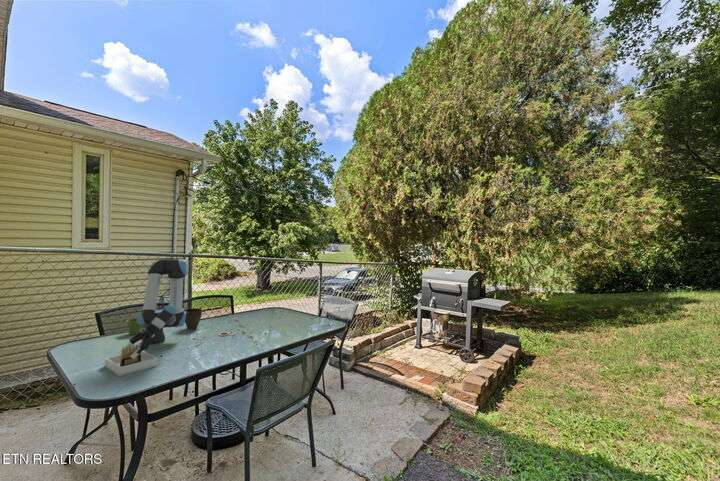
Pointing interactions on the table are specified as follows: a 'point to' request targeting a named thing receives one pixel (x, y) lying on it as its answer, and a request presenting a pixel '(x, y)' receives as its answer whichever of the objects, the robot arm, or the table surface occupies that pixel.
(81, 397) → the table surface
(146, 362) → the box
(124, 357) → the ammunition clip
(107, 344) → the table surface
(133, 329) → the plant pot
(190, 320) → the plant pot
